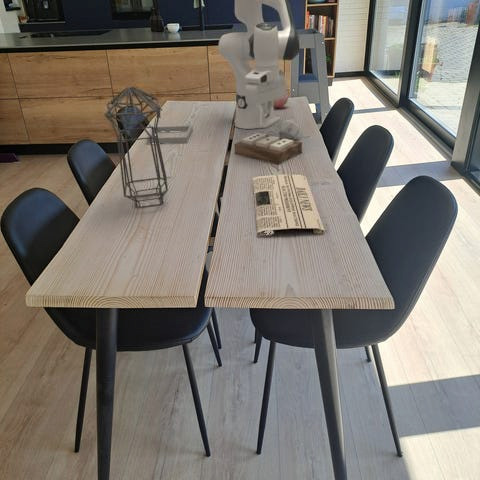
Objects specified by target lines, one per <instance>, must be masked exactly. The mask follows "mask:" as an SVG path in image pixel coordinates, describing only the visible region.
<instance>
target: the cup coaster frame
mask: <svg viewBox="0 0 480 480" xmlns="http://www.w3.org/2000/svg"><path fill="white" fill-rule="evenodd" d="M155 128H156V126H155ZM193 129H194V128H193V125H167V126H157V131H158V132H161V131H165V132H167V133H171V132H170V131H187V132H185V135H184V136H167V137H158V139H159V143H175V144H188V143H189V141H188V140H190V138H191V136H192V134H193ZM153 130H154V129H153ZM149 134H150V135H151V136H153V135H152V131H151V132H150V133H149ZM154 136H155V132H154ZM148 137H149V135H148V136H147V137H146V138H148ZM146 143H150V139H146ZM152 143H154V142H153V138H152ZM155 143H156V141H155Z"/></svg>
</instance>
